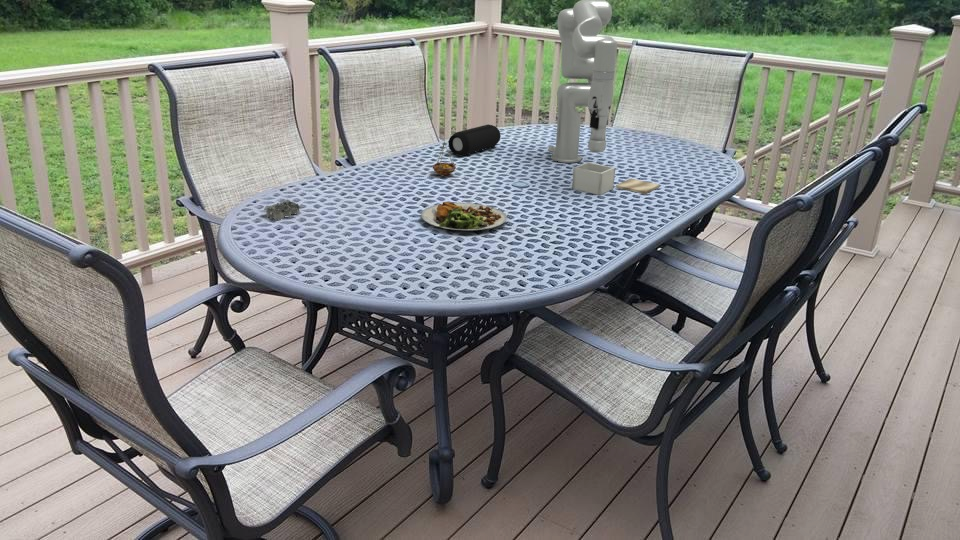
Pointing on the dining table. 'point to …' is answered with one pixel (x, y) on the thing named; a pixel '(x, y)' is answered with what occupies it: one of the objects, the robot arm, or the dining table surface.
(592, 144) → the plastic bottle
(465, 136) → the portable speaker
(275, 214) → the dark grey rough lump
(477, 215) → the plate of food
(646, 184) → the pad
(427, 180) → the dining table surface
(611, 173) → the bin
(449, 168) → the bird feeder
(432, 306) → the dining table surface
